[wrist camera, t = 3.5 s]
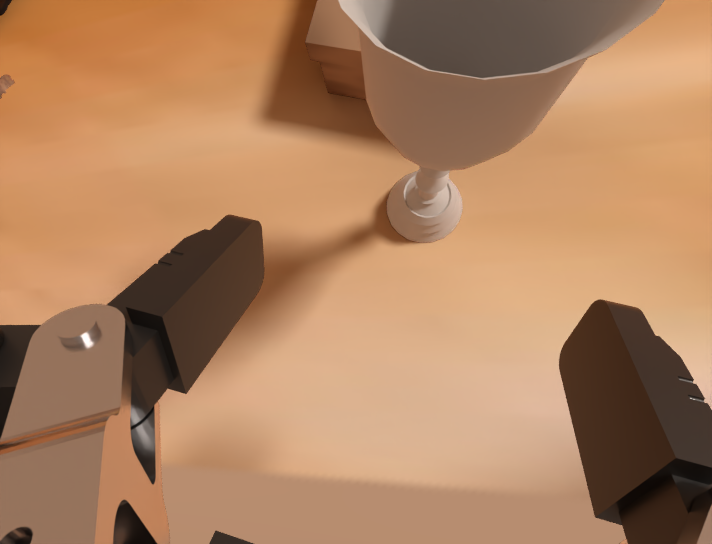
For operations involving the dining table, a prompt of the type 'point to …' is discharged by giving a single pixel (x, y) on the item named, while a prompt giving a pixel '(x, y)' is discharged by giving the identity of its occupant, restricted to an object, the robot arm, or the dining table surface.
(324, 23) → the square lamp base
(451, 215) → the chalice
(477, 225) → the dining table surface
